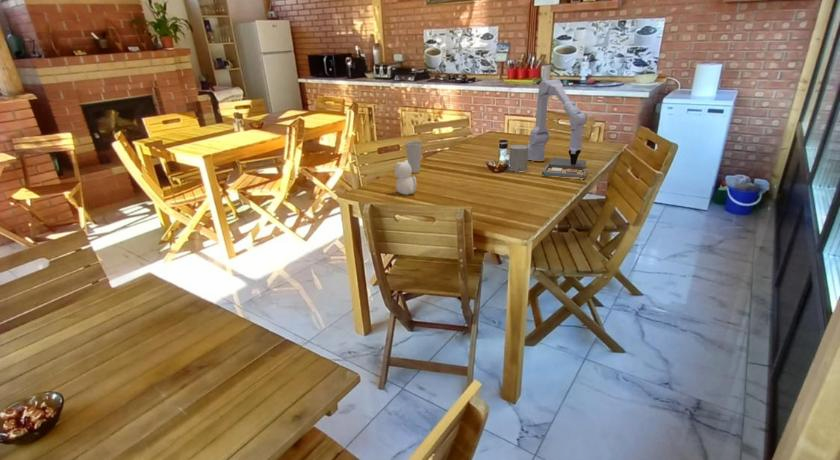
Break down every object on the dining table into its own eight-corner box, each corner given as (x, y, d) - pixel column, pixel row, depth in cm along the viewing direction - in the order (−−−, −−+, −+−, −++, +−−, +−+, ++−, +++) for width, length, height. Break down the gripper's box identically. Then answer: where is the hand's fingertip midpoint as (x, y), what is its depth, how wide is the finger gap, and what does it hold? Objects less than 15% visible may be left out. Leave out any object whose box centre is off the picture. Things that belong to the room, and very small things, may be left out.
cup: (420, 174, 235) (419, 144, 229) (404, 173, 237) (403, 144, 230) (423, 169, 242) (423, 141, 236) (408, 169, 244) (407, 140, 238)
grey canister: (506, 171, 235) (507, 148, 230) (511, 166, 243) (512, 144, 238) (524, 173, 231) (525, 149, 226) (529, 168, 238) (530, 145, 233)
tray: (541, 176, 225) (542, 171, 224) (546, 169, 235) (546, 164, 234) (583, 180, 217) (584, 175, 216) (586, 173, 228) (587, 168, 227)
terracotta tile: (567, 168, 227) (567, 172, 228) (566, 171, 223) (565, 175, 224) (577, 169, 225) (577, 173, 226) (576, 172, 221) (576, 176, 222)
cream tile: (552, 167, 230) (552, 171, 231) (550, 170, 226) (550, 173, 227) (562, 168, 228) (562, 172, 229) (561, 170, 224) (560, 174, 225)
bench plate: (548, 169, 235) (548, 164, 234) (552, 162, 247) (553, 157, 245) (582, 172, 228) (583, 166, 227) (585, 165, 240) (586, 160, 239)
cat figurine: (404, 188, 215) (402, 157, 209) (423, 193, 207) (422, 161, 201) (391, 193, 209) (388, 161, 203) (410, 198, 201) (408, 165, 195)
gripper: (583, 141, 216) (579, 168, 222) (586, 135, 228) (583, 161, 234) (567, 140, 219) (565, 167, 225) (571, 134, 231) (569, 160, 237)
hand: (573, 164), depth 229 cm, fingers closed
